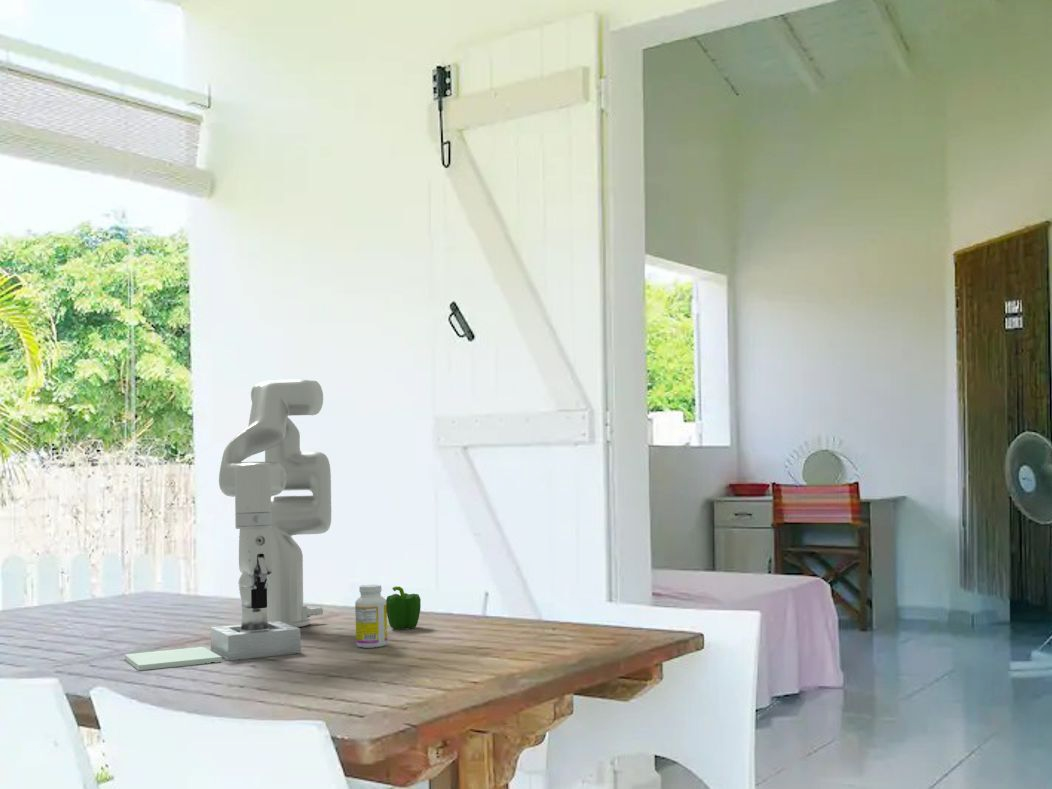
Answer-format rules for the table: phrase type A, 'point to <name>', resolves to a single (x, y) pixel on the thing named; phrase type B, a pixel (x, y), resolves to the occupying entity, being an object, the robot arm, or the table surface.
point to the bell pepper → (403, 609)
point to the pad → (172, 658)
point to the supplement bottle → (371, 617)
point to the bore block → (255, 641)
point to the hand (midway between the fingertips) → (254, 605)
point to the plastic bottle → (250, 617)
